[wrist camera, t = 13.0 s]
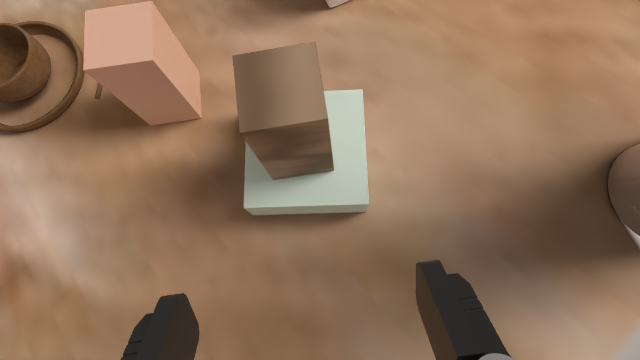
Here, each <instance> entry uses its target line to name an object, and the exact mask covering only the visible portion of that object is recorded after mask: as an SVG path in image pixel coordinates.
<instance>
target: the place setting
mask: <svg viewBox="0 0 640 360" xmlns="http://www.w3.org/2000/svg"><path fill="white" fill-rule="evenodd" d="M42 34H43V35H50V36H55V37H57V38H60V39H62V40H63V41H65V42H66V43H68V44H69V45H70V46H71V47H72V48H73V50H74V51H75V53H76V57H77V70H76V75H75V78H74V81H73V84H72V86H71V88H70V90H69V91H68V93H67V95H66V96H65V97H64V98H63V100H62V101H61V102H60V103H59V104H58V105H57V106H56V107H55V108H54V109H53V110H51V111H50V112H49V113H47V114H46V115H44V116H43V117H41V118H39V119H37V120H35V121H32V122H30V123H27V124H23V125H18V126H8V125H4V124H1V123H0V130H3V131H25V130H30V129H34V128H37V127H40V126H43V125H45V124H47V123H49V122H51V121H52V120H54V119H55V118H57V117H58V116H59V115H61V114H62V113H63V112H64V111H65V110H66V109H67V108H68V107H69V106H70V105H71V103H72V102H73V101H74V99H75V98H76V96H77V94H78V92H79V90H80V88H81V85H82V82H83V78H84V70H83V65H84V60H83V56H82V53H81V50H80V48H79V46H78V45H77V43H76V42H75V40H74V39H73V38H72V37H71V36H70V35H69V34H68V33H67V32H66V31H64V30H63V29H62V28H60V27H58V26H56V25H53V24H51V23H46V22H40V21H28V22H22V23H18V24H10V23H0V101H6V102H15V101H21V100H25V99H27V98H29V97H31V96H33V95H35V94H36V93H38V92H39V91H41V90H42V89H43V88H44V86H45V85H46V83H47V81H48V79H49V76H50V72H51V61H50V57H49V55H48V53H47V51H46V50H45V48H44V47H43V46H42V45H41V44H40V43H39V42H38V41H37V40H36V39H34V38H33V37H32V36H31V35H42ZM101 91H102V85H101V84H100V83H98V86H97V91H96V96H95V99H100V96H101Z"/></svg>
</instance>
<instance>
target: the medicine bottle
mask: <svg viewBox="0 0 640 360" xmlns="http://www.w3.org/2000/svg"><path fill="white" fill-rule="evenodd" d="M347 1H350V0H326V2H327V4H328V6H329V7H331V8H332V7H335V6H337V5H340V4H342V3H345V2H347Z"/></svg>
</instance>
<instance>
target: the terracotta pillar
mask: <svg viewBox="0 0 640 360" xmlns="http://www.w3.org/2000/svg"><path fill="white" fill-rule="evenodd" d="M83 70H84V71H85V72H86V73H88V74H89V75H90V76H91V77H92V78H94V79H95V80H96V81H97V82H98V83H100V84H101V85H102V86H103V87H104V88H106V89H107V90H108V91H109V92H110V93H112V94H113V95H114V96H115V97H117V98H118V99H119V100H120V101H121V102H123V103H124V104H125V105H126V106H127V107H129V108H130V109H131V110H132V111H133V112H135V113H136V114H137V115H138V116H139V117H141V118H142V119H143V120H144V121H146V122H147V123H148V124H149V125H150V126H151V125H158V124H165V123H172V122H179V121H186V120H193V119H200V118H202V114H201V96H200V78H199V71H198V70H197V68H196V67H195V65H194V64H193V62H192V61H191V59H190V58H189V56H188V55H187V53H186V52H185V50H184V49H183V47H182V46H181V44H180V43H179V41H178V40H177V38H176V37H175V35H174V34H173V32H172V31H171V29H170V28H169V26H168V25H167V23H166V22H165V20H164V19H163V17H162V16H161V14H160V13H159V11H158V10H157V8H156V7H155V5H154V4H153V2H152V1H149V2H142V3H135V4H128V5H121V6H114V7H107V8H100V9H94V10H87V11H85V35H84V65H83Z"/></svg>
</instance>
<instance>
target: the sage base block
mask: <svg viewBox="0 0 640 360" xmlns="http://www.w3.org/2000/svg"><path fill="white" fill-rule="evenodd" d="M324 96H325V102H326V108H327V114H328V121H329V130H330V138H331V147H332V156H333V164H334V171H328V172H321V173H315V174H309V175H302V176H296V177H290V178H284V179H277V180H273V179H272V178H271V176H270V175H269V173H268V172H267V171H266V169H265V168H264V166H263V165H262V163H261V162H260V161H259V159H258V158H257V156H256V155H255V154H254V152H253V151H252V149H251V148H250V147H249V145H248V144H247V142H246V146H245V180H244V209H246V210H247V211H248V212H250V213H251V214H252V215H279V214H312V213H346V212H366V210H367V208H368V205H369V195H368V177H367V160H366V142H365V124H364V106H363V89H362V90H338V91H324Z"/></svg>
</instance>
